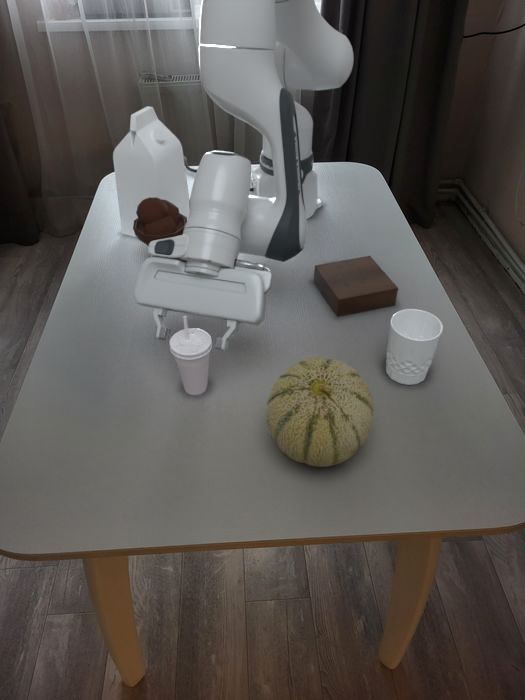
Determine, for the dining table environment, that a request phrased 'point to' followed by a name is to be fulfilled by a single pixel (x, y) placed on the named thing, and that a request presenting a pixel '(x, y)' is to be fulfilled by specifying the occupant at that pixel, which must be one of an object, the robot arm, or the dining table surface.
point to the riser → (354, 285)
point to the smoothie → (192, 357)
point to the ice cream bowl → (158, 220)
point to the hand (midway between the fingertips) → (191, 344)
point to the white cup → (412, 345)
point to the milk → (149, 168)
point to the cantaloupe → (320, 412)
